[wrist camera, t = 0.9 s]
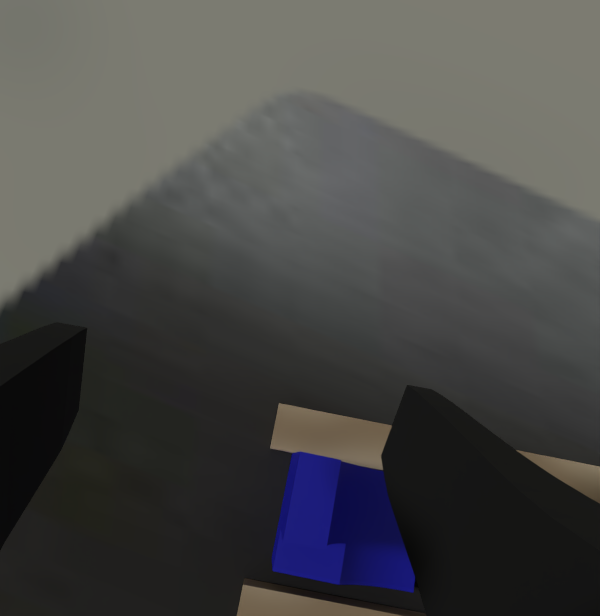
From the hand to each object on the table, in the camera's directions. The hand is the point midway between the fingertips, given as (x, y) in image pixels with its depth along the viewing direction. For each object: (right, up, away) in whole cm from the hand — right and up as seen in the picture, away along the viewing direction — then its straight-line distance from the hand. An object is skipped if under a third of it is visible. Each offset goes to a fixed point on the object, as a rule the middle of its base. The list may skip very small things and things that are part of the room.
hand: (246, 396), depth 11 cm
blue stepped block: (+6, -8, +12) cm, 16 cm away
